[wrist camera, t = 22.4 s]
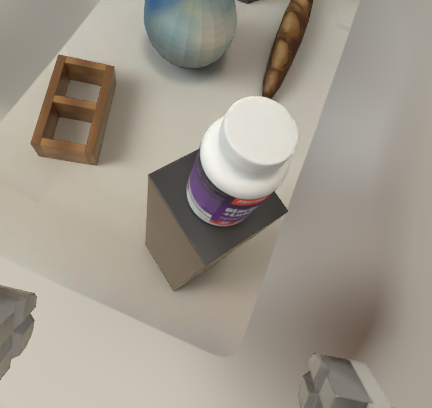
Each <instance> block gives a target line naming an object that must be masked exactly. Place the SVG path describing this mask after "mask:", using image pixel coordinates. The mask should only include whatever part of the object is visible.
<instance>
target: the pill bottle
mask: <svg viewBox="0 0 432 408" xmlns="http://www.w3.org/2000/svg"><path fill="white" fill-rule="evenodd" d="M297 144H298V128H297V125H296V122H295V120H294V119H293V117H292V115H291V114H290V113H289V112H288V111H287V109H286V108H284V107H283V106H282V105H281V104H279V103H278V102H276V101H274V100H272V99H269V98H266V97H261V96H249V97H245V98H242V99H240V100H238V101H236V102H235V103H234V104H233V105H232V106H231V107H230V108H229V110H228V111H227V113H226V115H225V116H223V117H221V118H220V119H218V120H217V121H215V122H214V123H213V124H212V125H211V126H210V127H209V129H208V130H207V131H206V133H205V135H204V137H203V139H202V142H201V145H200V148H199V151H198V153H197V156H196V159H195V162H194V165H193V168H192V171H191V174H190V176H189V179H188V184H187V198H188V202H189V204H190V206H191V208H192V210H193V211H194V212H195V214H196V215H197V216H198V217H199V218H201V219H202V220H204V221H205V222H207V223H209V224H212V225H216V226H231V225H234V224H237V223H239V222H241V221H242V220H244V219H245V218H246V217H247V216H249V215H250V214H251V213H252V212H253V211H254V210H255V209H256V208H257V207H258V206H259V205H260V204H261V203H262V202H263V201H264V200H266V199H267V198H268V197H269V196H270V195H271V194H272V193H273V192H274V191H275V190H276V189H277V188H278V187H279V185H280V184H281V183H282V182H283V180H284V179H285V177H286V175H287V172H288V169H289V163H290V157H291V155H292V154H293V153H294V151H295V149H296V147H297Z"/></svg>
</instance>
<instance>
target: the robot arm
mask: <svg viewBox="0 0 432 408" xmlns="http://www.w3.org/2000/svg"><path fill="white" fill-rule="evenodd" d="M36 299H37V296H36V295H35V293H32V292H27V291H23V290H19V289H14V288H10V287H6V286H2V285H0V380H1V378H2V377H3V376H4V375H5V373H6V372H7V371H8V369H9V368H10V362H11V359H12V358H14V357H17V356H19V355H20V354H21V353H22V351H23V350H24V349H25V347H26V345H27V343H28V341H29V339H30V337H31V334H32V331H33V327H34V319H33V317H32V316H31V314H30V313H31V312H32V311H33V309H34V308H35V307H36ZM308 365H309V368H310V371H309V372H308V373H306V374H305V375H303V377H302V380H301V383H300V387H299V403H300V407H301V408H392V407H391V405H390V404H389V402H388V400H387V399H386V397H385V395H384V394H383V392H382V390H381V388H380V387H379V385H378V383H377V382H376V380H375V378H374V377H373V375H372V373H371V372H370V370H369V368H368V366H367V365H366V364H365V363H363V362H360V361H355V360H350V359H341V358H336V357H332V356H327V355H322V354H317V353H314V354H313V355H312V356H311V357H310V360H309V362H308Z"/></svg>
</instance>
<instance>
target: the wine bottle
mask: <svg viewBox="0 0 432 408" xmlns="http://www.w3.org/2000/svg"><path fill="white" fill-rule="evenodd" d="M239 1H241V2H244V3H251V2H254V1H257V0H239Z"/></svg>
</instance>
